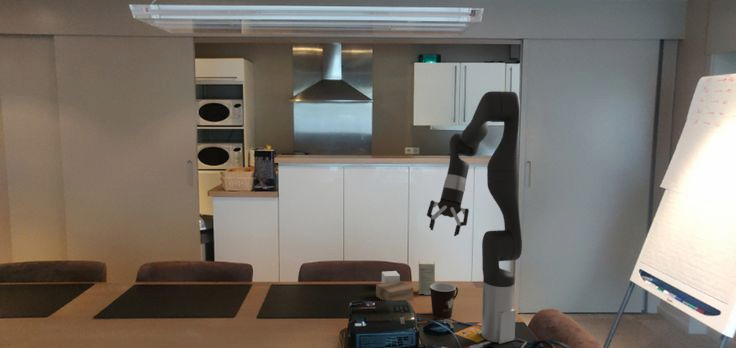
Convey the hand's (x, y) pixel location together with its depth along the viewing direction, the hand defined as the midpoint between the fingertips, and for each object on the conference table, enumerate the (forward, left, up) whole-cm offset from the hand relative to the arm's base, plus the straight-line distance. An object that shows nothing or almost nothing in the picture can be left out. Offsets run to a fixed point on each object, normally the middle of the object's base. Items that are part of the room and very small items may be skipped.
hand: (443, 233), depth 177 cm
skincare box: (+13, -3, -27) cm, 30 cm away
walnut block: (+14, +11, -27) cm, 32 cm away
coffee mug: (-8, +4, -27) cm, 28 cm away
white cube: (+24, +6, -27) cm, 37 cm away
